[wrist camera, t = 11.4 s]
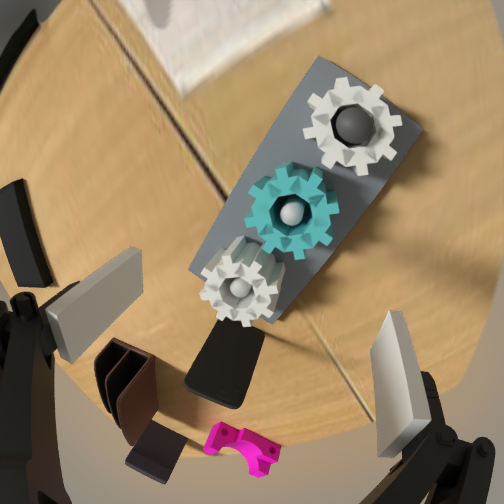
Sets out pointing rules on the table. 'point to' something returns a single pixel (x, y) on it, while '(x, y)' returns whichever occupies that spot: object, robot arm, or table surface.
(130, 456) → the calculator
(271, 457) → the magenta mounting bracket
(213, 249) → the gear board
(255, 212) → the teal gear
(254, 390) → the table surface
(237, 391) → the phone
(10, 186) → the black book
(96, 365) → the letter holder
